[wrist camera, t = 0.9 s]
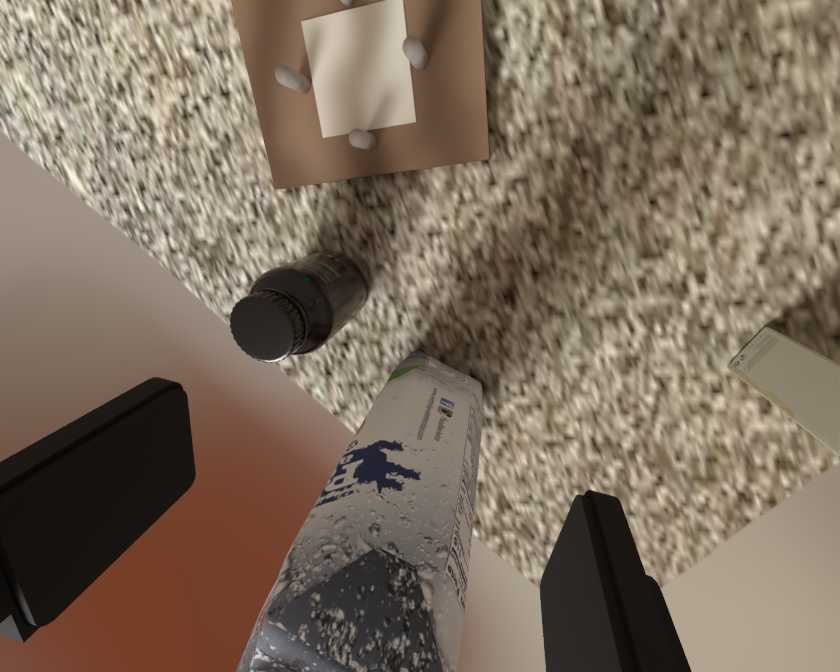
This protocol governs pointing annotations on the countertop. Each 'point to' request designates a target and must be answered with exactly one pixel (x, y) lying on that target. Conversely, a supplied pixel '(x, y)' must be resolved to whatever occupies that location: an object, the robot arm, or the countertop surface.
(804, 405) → the skincare box
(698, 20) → the countertop surface
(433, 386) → the juice carton
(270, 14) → the brown pegged board
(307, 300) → the supplement bottle
